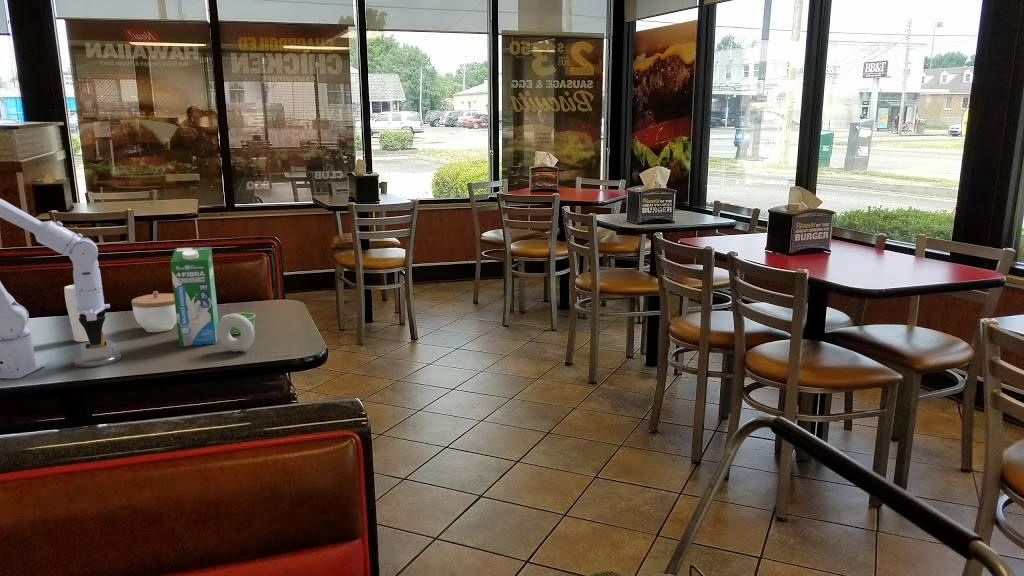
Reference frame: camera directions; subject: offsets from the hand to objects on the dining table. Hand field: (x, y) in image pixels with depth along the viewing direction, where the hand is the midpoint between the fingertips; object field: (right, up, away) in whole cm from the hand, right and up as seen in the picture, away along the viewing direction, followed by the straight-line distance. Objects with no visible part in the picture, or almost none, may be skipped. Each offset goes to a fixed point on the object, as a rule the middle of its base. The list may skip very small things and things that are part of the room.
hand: (95, 342), depth 181 cm
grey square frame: (0, -5, +1) cm, 5 cm away
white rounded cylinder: (-14, -1, +20) cm, 24 cm away
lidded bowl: (+1, +2, +30) cm, 30 cm away
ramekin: (+25, +1, +28) cm, 38 cm away
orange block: (0, -3, +1) cm, 3 cm away
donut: (+32, -3, +8) cm, 33 cm away
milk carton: (+18, -1, +18) cm, 26 cm away
